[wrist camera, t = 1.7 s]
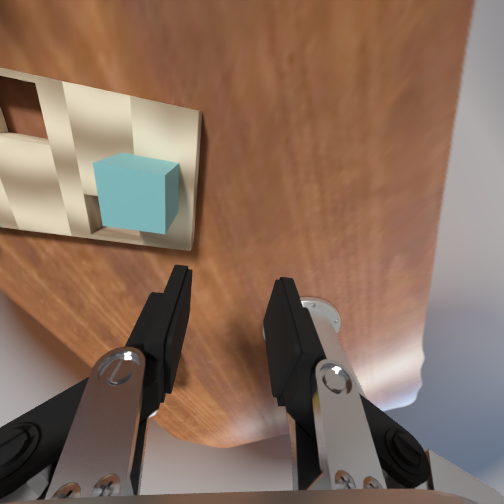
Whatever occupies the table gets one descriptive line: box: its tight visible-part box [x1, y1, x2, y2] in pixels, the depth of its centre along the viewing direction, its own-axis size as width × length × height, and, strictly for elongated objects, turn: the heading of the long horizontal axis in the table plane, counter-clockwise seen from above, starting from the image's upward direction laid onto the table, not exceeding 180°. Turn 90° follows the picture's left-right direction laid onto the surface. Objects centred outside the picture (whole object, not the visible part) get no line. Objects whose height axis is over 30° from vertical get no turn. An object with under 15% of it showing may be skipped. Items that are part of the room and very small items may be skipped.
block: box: [93, 153, 179, 234], centre depth 20 cm, size 5×5×5 cm
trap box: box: [0, 67, 202, 251], centre depth 21 cm, size 14×25×5 cm, turn 79°
